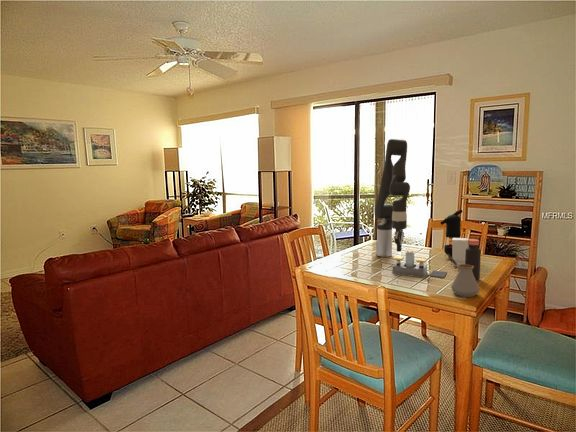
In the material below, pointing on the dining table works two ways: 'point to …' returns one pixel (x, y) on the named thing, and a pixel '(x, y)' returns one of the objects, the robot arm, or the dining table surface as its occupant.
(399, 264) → the plunger
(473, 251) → the bottle
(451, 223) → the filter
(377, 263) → the dining table surface
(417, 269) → the housing
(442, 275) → the mat
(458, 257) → the skincare box
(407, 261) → the cartridge
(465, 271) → the coffee pot
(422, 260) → the plunger
